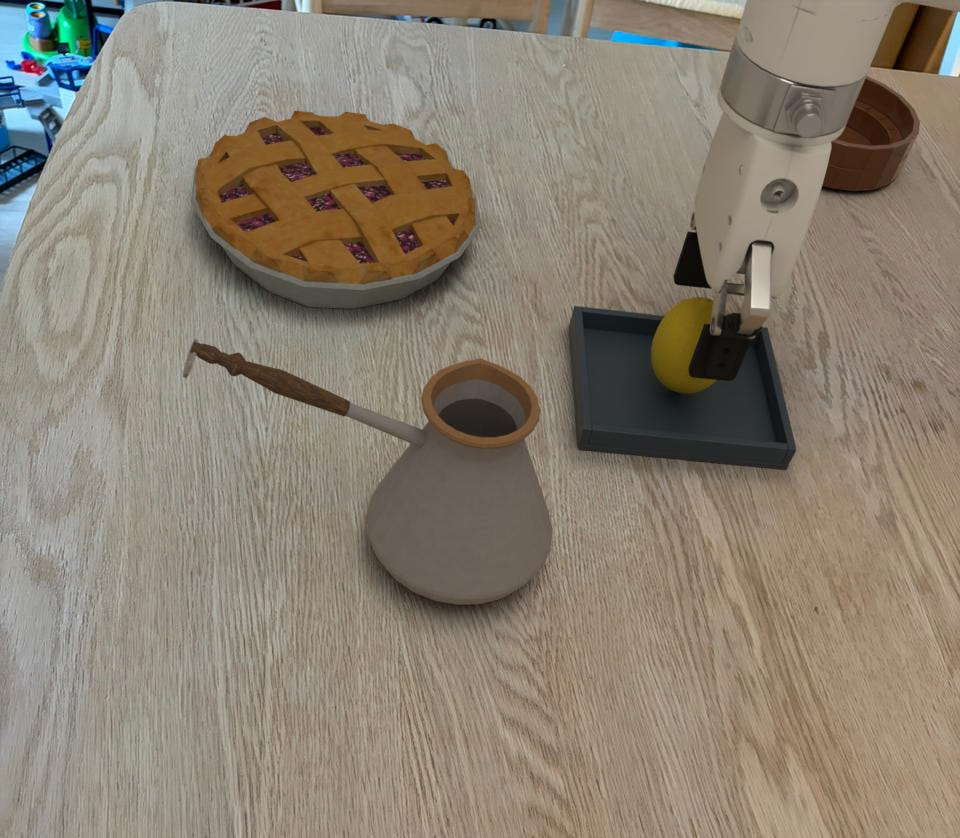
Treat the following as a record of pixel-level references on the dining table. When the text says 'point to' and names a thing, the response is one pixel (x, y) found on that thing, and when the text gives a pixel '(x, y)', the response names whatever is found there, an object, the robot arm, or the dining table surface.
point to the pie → (335, 208)
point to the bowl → (872, 140)
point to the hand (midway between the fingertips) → (702, 328)
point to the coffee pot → (445, 479)
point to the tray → (672, 398)
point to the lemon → (680, 344)
